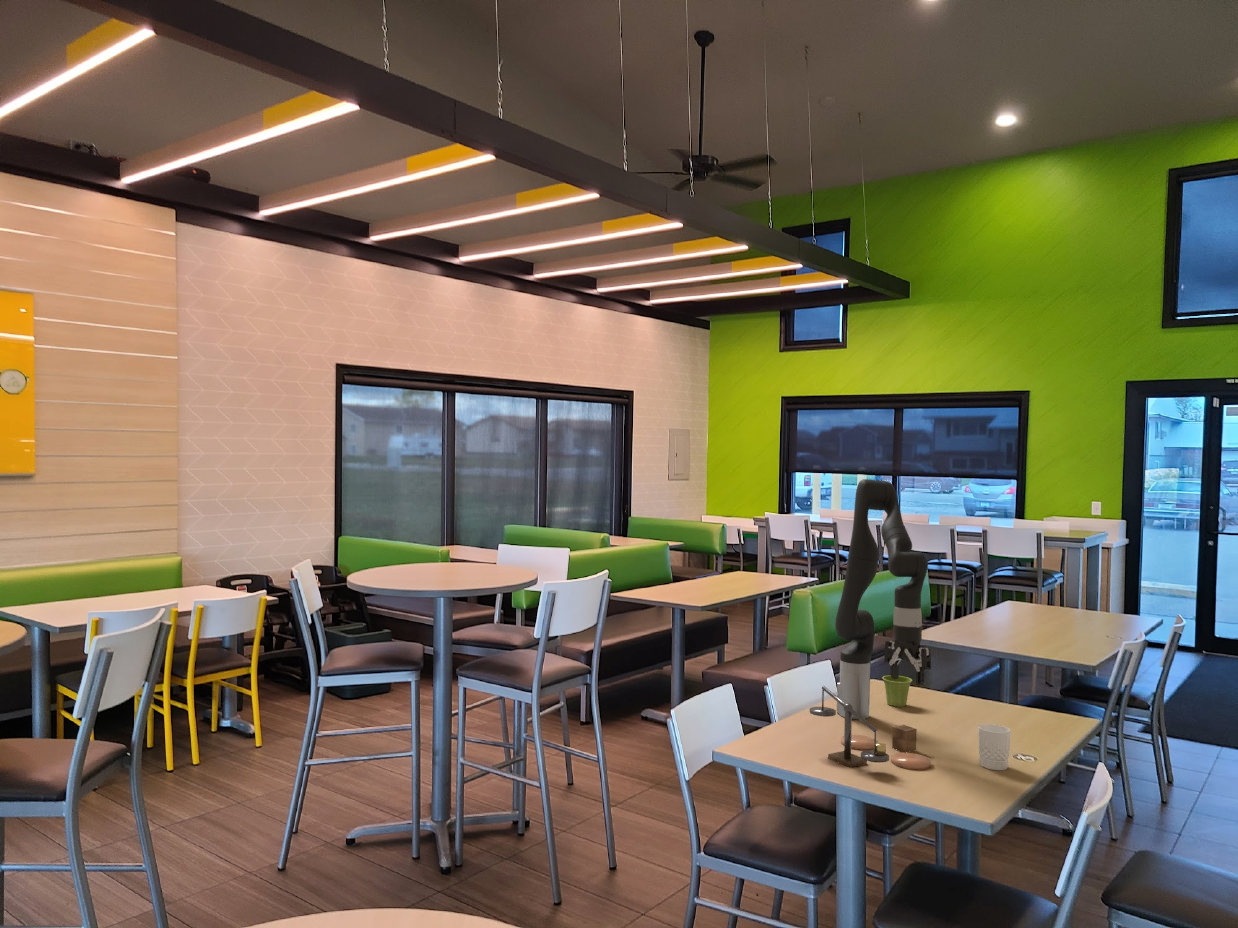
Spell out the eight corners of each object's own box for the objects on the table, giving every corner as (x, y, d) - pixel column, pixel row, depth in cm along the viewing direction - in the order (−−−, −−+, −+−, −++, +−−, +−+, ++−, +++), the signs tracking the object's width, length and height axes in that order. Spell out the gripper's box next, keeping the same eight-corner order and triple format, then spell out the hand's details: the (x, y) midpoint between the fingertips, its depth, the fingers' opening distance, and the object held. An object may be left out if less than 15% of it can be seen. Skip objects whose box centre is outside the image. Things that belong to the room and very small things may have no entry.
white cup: (993, 760, 235) (994, 722, 236) (1016, 769, 228) (1017, 731, 228) (970, 762, 233) (971, 725, 233) (993, 772, 225) (994, 733, 225)
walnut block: (892, 748, 244) (892, 726, 244) (903, 745, 246) (903, 724, 246) (905, 752, 240) (905, 730, 240) (916, 750, 242) (916, 728, 242)
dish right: (882, 760, 233) (882, 755, 233) (908, 754, 238) (908, 750, 238) (913, 771, 224) (913, 767, 224) (938, 765, 230) (938, 761, 230)
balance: (803, 749, 241) (804, 684, 241) (822, 745, 244) (823, 681, 245) (875, 778, 219) (876, 706, 219) (894, 773, 222) (896, 703, 223)
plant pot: (916, 708, 287) (917, 681, 287) (889, 708, 286) (890, 682, 286) (903, 700, 296) (904, 675, 296) (877, 701, 295) (877, 675, 295)
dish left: (833, 741, 248) (833, 737, 248) (858, 736, 253) (858, 732, 253) (860, 751, 240) (860, 747, 240) (885, 746, 245) (885, 742, 245)
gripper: (878, 620, 248) (877, 678, 247) (919, 628, 236) (918, 688, 235) (896, 619, 252) (896, 675, 251) (937, 626, 240) (937, 685, 239)
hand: (907, 681), depth 243 cm, fingers open, 8 cm apart
